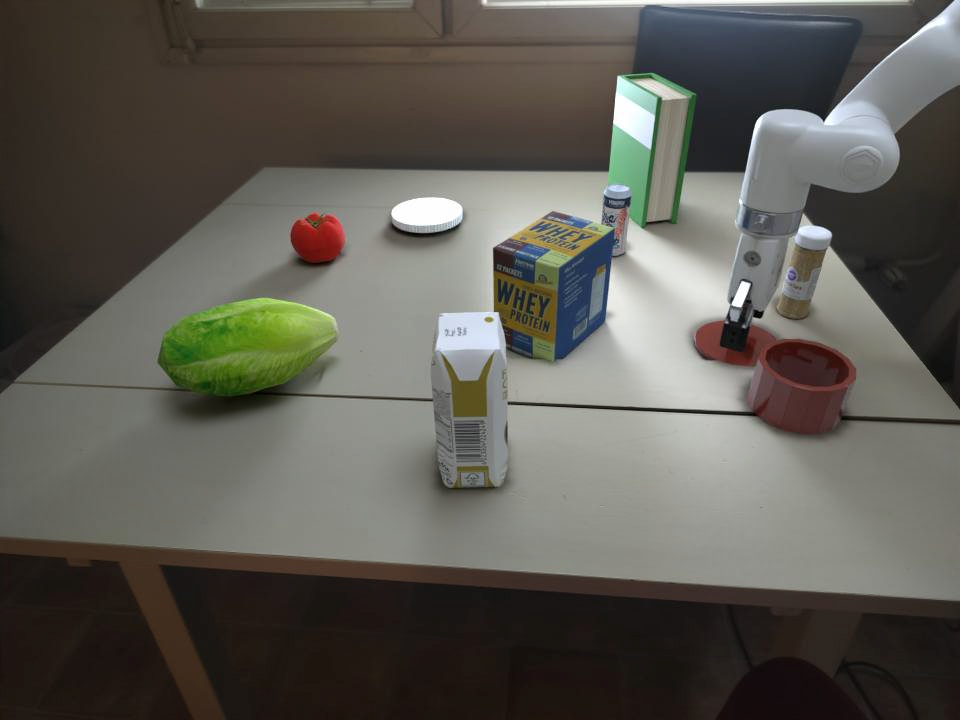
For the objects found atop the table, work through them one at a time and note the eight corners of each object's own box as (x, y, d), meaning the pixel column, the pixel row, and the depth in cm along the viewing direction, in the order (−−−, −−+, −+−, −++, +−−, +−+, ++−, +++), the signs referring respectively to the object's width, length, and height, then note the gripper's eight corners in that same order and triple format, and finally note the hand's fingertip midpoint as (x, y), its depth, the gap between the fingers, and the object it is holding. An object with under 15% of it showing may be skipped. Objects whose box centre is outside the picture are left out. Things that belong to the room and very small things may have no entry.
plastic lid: (410, 243, 125) (409, 231, 124) (381, 218, 135) (380, 206, 134) (475, 227, 131) (474, 215, 129) (443, 204, 141) (442, 192, 139)
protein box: (492, 344, 97) (490, 247, 88) (549, 300, 107) (553, 209, 98) (553, 369, 92) (558, 268, 83) (607, 320, 101) (617, 225, 92)
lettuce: (352, 391, 89) (339, 316, 82) (170, 432, 83) (140, 355, 76) (336, 341, 99) (323, 270, 92) (172, 375, 93) (146, 302, 86)
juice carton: (439, 498, 73) (426, 355, 62) (442, 445, 80) (431, 308, 69) (508, 497, 72) (508, 353, 61) (505, 443, 79) (505, 306, 69)
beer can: (593, 253, 120) (599, 189, 113) (605, 243, 123) (611, 180, 116) (618, 259, 118) (625, 194, 111) (629, 249, 121) (637, 185, 114)
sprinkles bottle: (769, 310, 103) (791, 229, 95) (788, 301, 105) (810, 221, 97) (795, 323, 100) (820, 240, 92) (814, 314, 101) (839, 232, 94)
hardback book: (676, 223, 130) (696, 94, 116) (641, 227, 129) (657, 97, 115) (639, 190, 144) (653, 72, 130) (606, 194, 143) (617, 75, 129)
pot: (818, 386, 87) (835, 338, 83) (852, 441, 78) (872, 391, 74) (736, 385, 88) (748, 338, 83) (760, 440, 79) (774, 390, 75)
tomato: (351, 246, 125) (346, 209, 120) (339, 268, 118) (332, 229, 113) (303, 245, 126) (296, 208, 121) (287, 267, 118) (279, 228, 114)
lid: (764, 326, 99) (775, 287, 95) (791, 373, 90) (803, 331, 86) (685, 326, 100) (692, 287, 96) (703, 372, 90) (712, 331, 86)
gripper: (784, 249, 75) (752, 371, 85) (814, 198, 87) (783, 310, 97) (717, 235, 79) (694, 354, 89) (755, 188, 91) (731, 297, 100)
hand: (741, 331), depth 93 cm, fingers open, 9 cm apart
